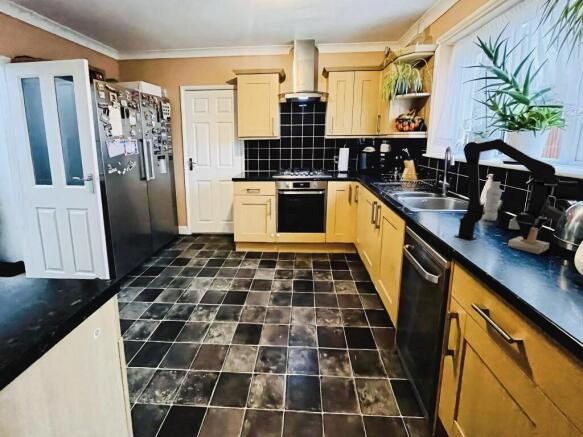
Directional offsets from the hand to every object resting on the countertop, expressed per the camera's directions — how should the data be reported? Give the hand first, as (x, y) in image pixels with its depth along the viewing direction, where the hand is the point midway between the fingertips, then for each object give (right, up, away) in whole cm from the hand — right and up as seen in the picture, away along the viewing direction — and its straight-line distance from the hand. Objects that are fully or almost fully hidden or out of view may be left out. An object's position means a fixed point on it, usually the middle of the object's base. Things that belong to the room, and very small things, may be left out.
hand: (530, 237), depth 123 cm
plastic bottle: (+10, +6, +43) cm, 44 cm away
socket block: (0, -4, +1) cm, 4 cm away
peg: (0, -4, +1) cm, 4 cm away
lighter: (+15, +2, +28) cm, 32 cm away
